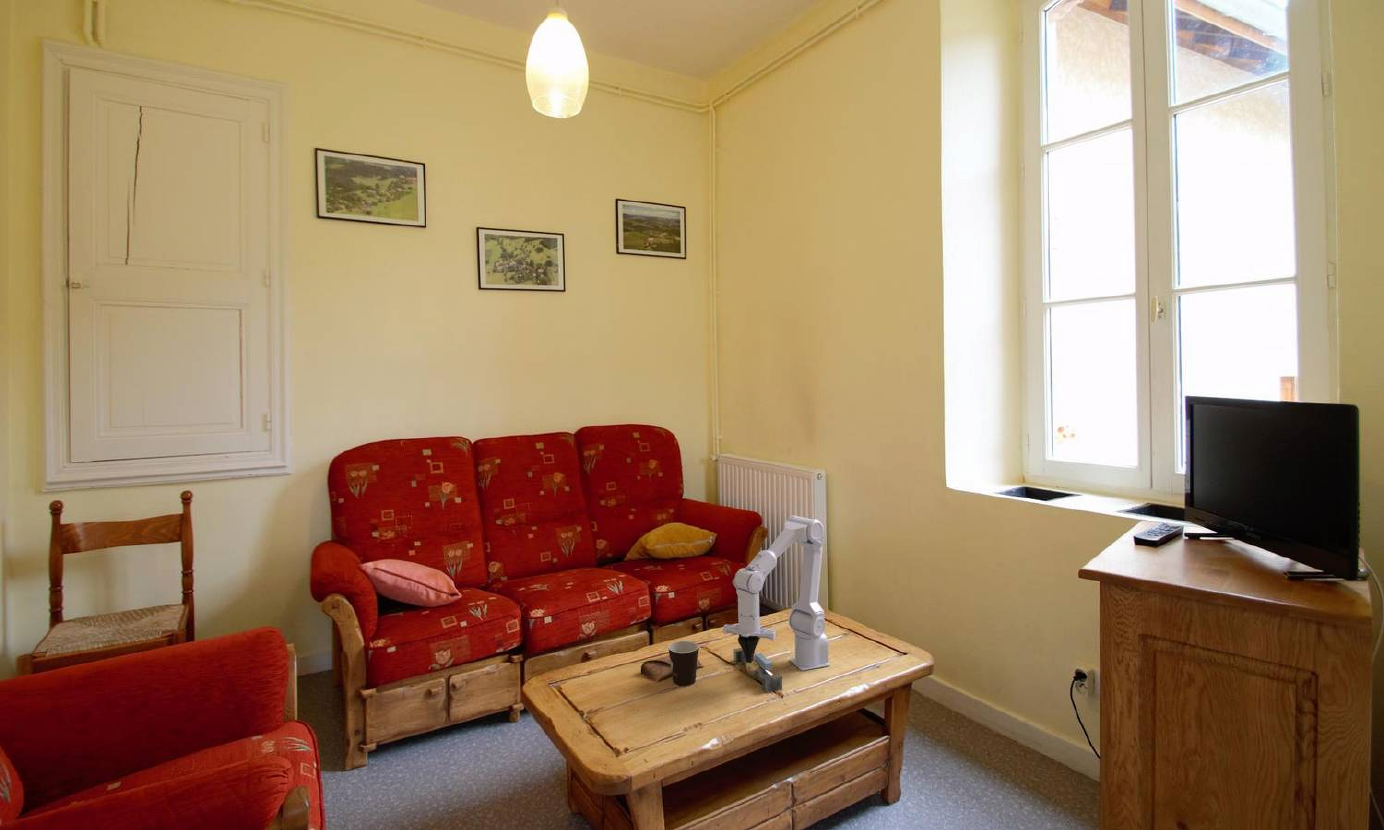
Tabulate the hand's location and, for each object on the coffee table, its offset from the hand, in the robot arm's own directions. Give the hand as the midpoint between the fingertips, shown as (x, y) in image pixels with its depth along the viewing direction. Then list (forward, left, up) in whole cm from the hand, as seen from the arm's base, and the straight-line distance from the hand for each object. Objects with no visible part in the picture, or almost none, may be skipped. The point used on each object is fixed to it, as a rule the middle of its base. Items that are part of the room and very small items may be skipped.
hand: (749, 661), depth 185 cm
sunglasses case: (+16, -19, -8) cm, 26 cm away
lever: (-5, -3, -3) cm, 7 cm away
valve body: (-5, -7, -7) cm, 11 cm away
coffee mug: (+15, -12, -8) cm, 20 cm away
